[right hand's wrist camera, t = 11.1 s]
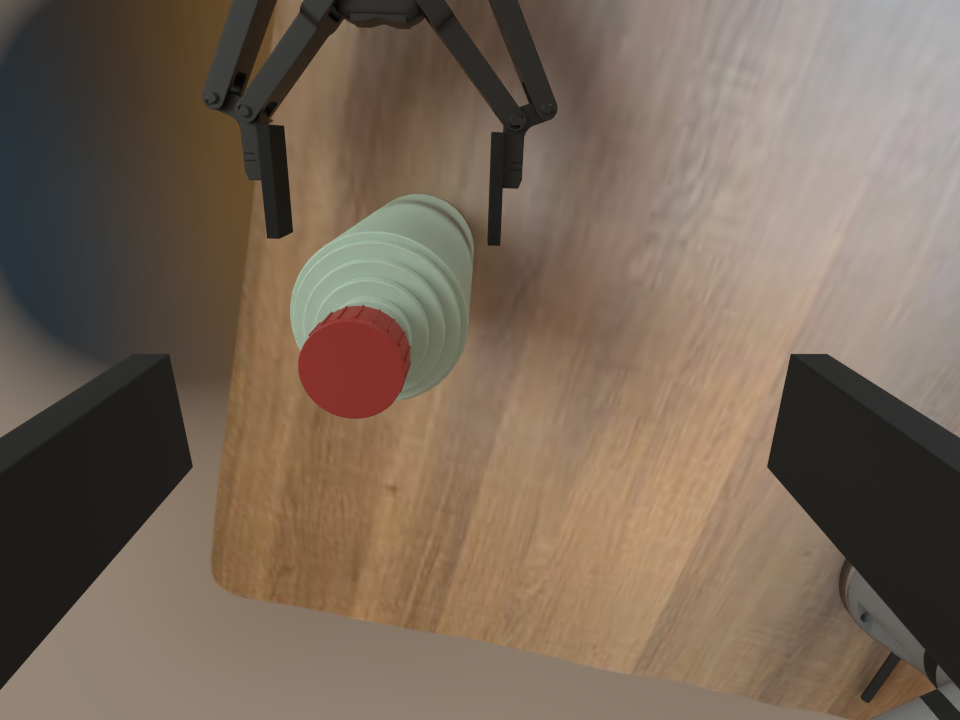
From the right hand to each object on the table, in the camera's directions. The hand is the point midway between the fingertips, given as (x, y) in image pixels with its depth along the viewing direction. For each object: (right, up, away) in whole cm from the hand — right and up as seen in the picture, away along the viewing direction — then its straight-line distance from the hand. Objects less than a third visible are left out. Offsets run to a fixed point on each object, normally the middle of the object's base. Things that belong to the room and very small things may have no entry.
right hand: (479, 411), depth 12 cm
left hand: (-6, +9, +24) cm, 27 cm away
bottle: (-4, +9, +31) cm, 33 cm away
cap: (-5, +1, +9) cm, 10 cm away
